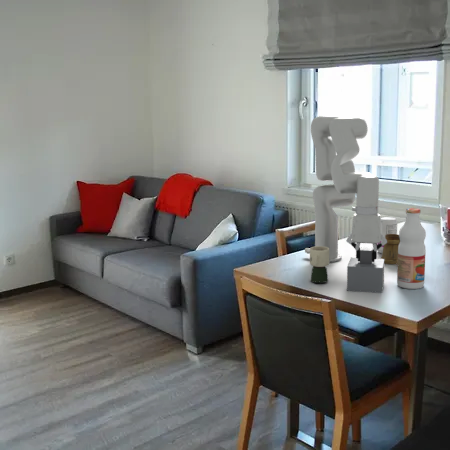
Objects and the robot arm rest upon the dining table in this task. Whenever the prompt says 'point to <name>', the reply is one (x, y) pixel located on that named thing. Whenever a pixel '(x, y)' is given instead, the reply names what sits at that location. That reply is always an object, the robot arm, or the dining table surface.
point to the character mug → (319, 263)
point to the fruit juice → (411, 252)
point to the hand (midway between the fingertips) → (366, 260)
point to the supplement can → (387, 228)
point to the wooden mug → (391, 249)
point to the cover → (365, 273)
